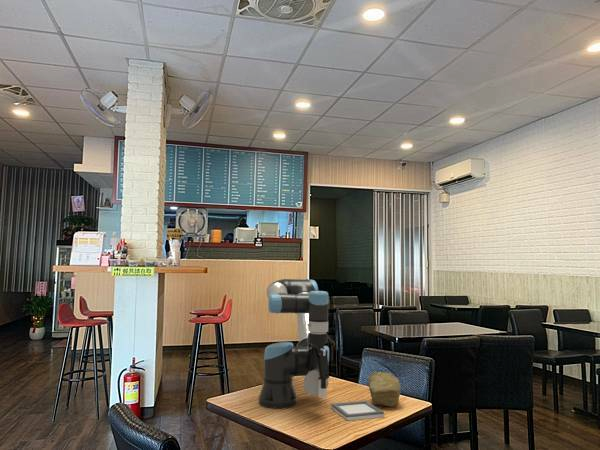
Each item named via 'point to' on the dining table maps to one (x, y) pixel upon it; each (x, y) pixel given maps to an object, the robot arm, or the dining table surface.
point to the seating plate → (357, 410)
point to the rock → (384, 389)
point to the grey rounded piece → (312, 383)
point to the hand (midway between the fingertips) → (316, 392)
